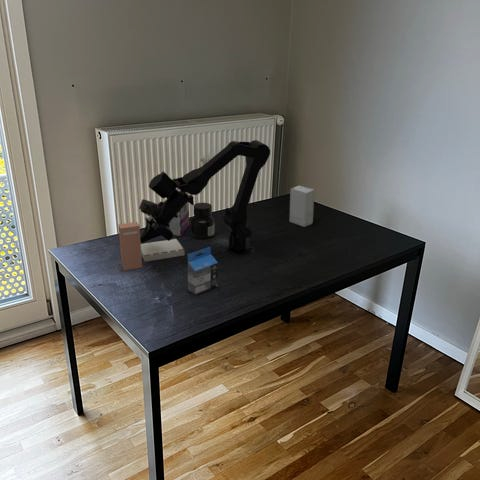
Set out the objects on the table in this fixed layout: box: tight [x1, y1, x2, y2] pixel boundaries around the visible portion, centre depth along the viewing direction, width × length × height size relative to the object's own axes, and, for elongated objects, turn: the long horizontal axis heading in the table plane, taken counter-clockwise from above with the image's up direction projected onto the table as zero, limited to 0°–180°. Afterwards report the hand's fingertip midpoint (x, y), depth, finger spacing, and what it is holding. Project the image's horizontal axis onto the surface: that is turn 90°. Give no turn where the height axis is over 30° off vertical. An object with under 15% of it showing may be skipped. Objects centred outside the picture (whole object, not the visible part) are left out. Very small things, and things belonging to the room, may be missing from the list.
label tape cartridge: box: [187, 246, 219, 295], centre depth 144 cm, size 9×4×12 cm, turn 131°
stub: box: [117, 221, 143, 271], centre depth 155 cm, size 6×4×15 cm, turn 113°
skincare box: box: [288, 185, 315, 228], centre depth 194 cm, size 8×6×15 cm
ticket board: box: [141, 238, 186, 263], centre depth 168 cm, size 14×10×2 cm
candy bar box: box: [168, 188, 191, 237], centre depth 183 cm, size 11×5×16 cm, turn 168°
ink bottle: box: [190, 202, 215, 240], centre depth 181 cm, size 10×9×12 cm
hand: (140, 241), depth 156 cm, fingers closed, pressing on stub
